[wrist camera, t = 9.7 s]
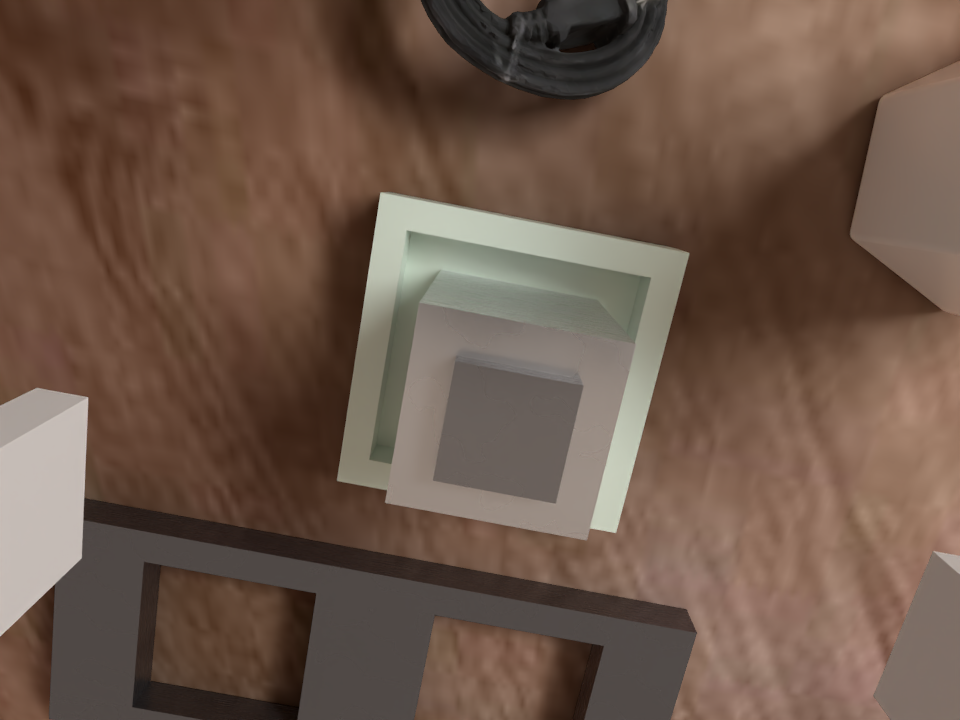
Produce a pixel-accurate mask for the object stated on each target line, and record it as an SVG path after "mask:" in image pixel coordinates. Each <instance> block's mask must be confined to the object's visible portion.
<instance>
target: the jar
mask: <svg viewBox="0 0 960 720" xmlns="http://www.w3.org/2000/svg"><path fill="white" fill-rule="evenodd" d="M850 237H851V239H852V240H854V241H855V242H856V243H857V244H859V245H860V246H861V247H863V248H864V249H865V250H866V251H868V252H869V253H870V254H872V255H873V256H874V257H875V258H877V259H878V260H879V261H880V262H882V263H883V264H884V265H886V266H887V267H888V268H889V269H891V270H892V271H893V272H895V273H896V274H897V275H898V276H900V277H901V278H902V279H903V280H905V281H906V282H907V283H909V284H910V285H911V286H912V287H914V288H915V289H916V290H917V291H919V292H920V293H921V294H923V295H924V296H925V297H926V298H928V299H929V300H930V301H931V302H933V303H934V304H935V305H936V306H938V307H939V308H940V309H942V310H943V311H945V312H947V313H951V314H954V315H958V316H960V61H958V62H955V63H953V64H951V65H949V66H947V67H944V68H942V69H940V70H938V71H935V72H933V73H931V74H929V75H927V76H924V77H922V78H920V79H918V80H916V81H913V82H911V83H909V84H907V85H905V86H902V87H900V88H898V89H896V90H894V91H891V92H889V93H887V94H885V95H884V96H882V97H881V98H880V101H879V103H878V107H877V112H876V116H875V121H874V125H873V130H872V134H871V139H870V143H869V148H868V152H867V157H866V162H865V166H864V171H863V175H862V180H861V184H860V189H859V193H858V198H857V202H856V207H855V211H854V216H853V220H852V225H851V229H850Z"/></svg>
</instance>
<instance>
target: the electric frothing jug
mask: <svg viewBox="0 0 960 720" xmlns="http://www.w3.org/2000/svg"><path fill="white" fill-rule="evenodd" d="M667 1H668V0H541V1H540V2H539V4H538V6H537V8H536V10H533V11H529V12H518V11H517V12H514V13H512V14H511V15H510V16H509V17H507V18H506V19H502V18H500V17H498V16H497V15H495V14H494V13H492V12H491V11H490V10H489V9H488V8H487V7H486V6H485V5H484V4H483V3H482V2H481V1H480V0H421V2H422V4H423V7H424V9H425V11H426V13H427V15H428V17H429V19H430V20H431V22H432V23H433V25H434V27H435V28H436V30H437V31H438V33H439V34H440V35H441V37H442V38H443V39H444V40H445V42H446V43H447V44H448V45H449V46H450V47H451V48H452V49H454V50H455V51H456V52H457V53H458V54H459V55H460V56H462V57H463V58H464V59H465V60H467V61H468V62H469V63H471V64H472V65H474V66H475V67H477V68H478V69H480V70H482V71H483V72H485V73H486V74H488V75H490V76H491V77H493V78H494V79H496V80H498V81H501V82H503V83H505V84H507V85H510V86H512V87H514V88H517V89H519V90H522V91H525V92H528V93H532V94H535V95H538V96H541V97H548V98H556V99H569V100H574V99H585V98H589V97H592V96H596V95H599V94H601V93H604V92H607V91H609V90H612V89H614V88H615V87H617V86H618V85H620V84H622V83H623V82H625V81H626V80H628V79H629V78H630V77H631V76H632V75H634V74H635V73H636V72H637V71H638V70H639V69H640V68H641V67H642V66H643V65H644V64H645V63H646V61H647V60H648V59H649V58H650V56H651V55H652V53H653V51H654V49H655V47H656V46H657V44H658V42H659V40H660V38H661V35H662V32H663V29H664V25H665V16H666V11H667ZM590 43H594V45H595V47H596V48H597V49H595V50H591V51H586V52H578V53H563V52H560V51H559V49H560V50H563V49H569V48H574V47H578V46H584V45H588V44H590Z"/></svg>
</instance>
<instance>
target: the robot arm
mask: <svg viewBox="0 0 960 720" xmlns="http://www.w3.org/2000/svg"><path fill="white" fill-rule="evenodd" d="M87 416H88V397H84V396H78V395H73V394H67V393H62V392H56V391H51V390H45V389H40V388H36V389H34V390H32V391H29V392H27V393H25V394H23V395H21V396H19V397H17V398H15V399H13V400H11V401H9V402H7V403H5V404H3V405H1V406H0V636H1V635H2V634H3V633H4V632H5V631H6V630H7V629H9V628H10V627H11V626H12V625H13V624H14V623H15V622H16V621H17V620H18V619H19V618H20V617H21V616H22V615H23V614H24V613H25V612H26V611H27V610H28V609H29V608H30V607H31V606H32V605H34V604H35V603H36V602H37V601H38V600H39V599H40V598H41V597H42V596H43V595H44V594H45V593H46V592H47V591H48V590H49V589H50V588H51V587H52V586H53V585H54V584H55V583H56V582H58V581H59V580H60V579H61V578H62V577H63V576H64V575H65V574H66V573H67V572H68V571H69V570H70V569H71V568H72V567H73V566H74V565H75V564H76V563H77V562H78V561H79V560H80V559H82V538H83V514H84V490H85V465H86V441H87ZM874 698H875V699H876V700H877V702H878V703H879V704H880V706H881V707H882V709H883V710H884V711H885V713H886V714H887V716H888V717H889V718H890V720H960V556H957V555H952V554H946V553H941V552H935V551H933V552H932V555H931V557H930V559H929V562H928V564H927V567H926V569H925V572H924V574H923V576H922V579H921V581H920V584H919V586H918V589H917V591H916V593H915V596H914V598H913V601H912V603H911V606H910V608H909V610H908V613H907V615H906V618H905V620H904V623H903V625H902V628H901V630H900V632H899V635H898V637H897V640H896V642H895V645H894V647H893V649H892V652H891V654H890V657H889V659H888V662H887V664H886V666H885V669H884V671H883V674H882V676H881V679H880V681H879V683H878V686H877V688H876V691H875V693H874Z"/></svg>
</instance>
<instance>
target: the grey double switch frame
mask: <svg viewBox="0 0 960 720" xmlns="http://www.w3.org/2000/svg"><path fill="white" fill-rule="evenodd" d="M161 565H164V566H169V567H175V568H180V569H186V570H191V571H197V572H202V573H208V574H213V575H219V576H224V577H230V578H235V579H241V580H246V581H251V582H257V583H262V584H268V585H273V586H279V587H284V588H290V589H295V590H301V591H306V592H312V593H316V600H315V606H314V613H313V620H312V626H311V633H310V639H309V646H308V653H307V659H306V666H305V673H304V679H303V686H302V693H301V699H300V706H299V708H298V707H292V706H286V705H281V704H275V703H270V702H264V701H259V700H253V699H247V698H242V697H236V696H231V695H225V694H219V693H214V692H208V691H203V690H197V689H192V688H186V687H180V686H175V685H169V684H164V683H158V682H152V681H151V669H152V658H153V646H154V635H155V624H156V612H157V601H158V589H159V578H160V566H161ZM435 615H437V616H443V617H448V618H454V619H459V620H465V621H470V622H476V623H481V624H487V625H492V626H498V627H503V628H509V629H514V630H519V631H525V632H530V633H536V634H541V635H547V636H552V637H558V638H563V639H569V640H574V641H580V642H585V643H591V644H593V645H592V649H591V653H590V656H589V660H588V664H587V668H586V671H585V675H584V679H583V683H582V687H581V690H580V694H579V698H578V702H577V705H576V709H575V713H574V717H573V720H670V719H671V716H672V713H673V709H674V706H675V703H676V700H677V696H678V693H679V690H680V687H681V683H682V680H683V677H684V673H685V670H686V667H687V664H688V660H689V657H690V654H691V651H692V647H693V644H694V641H695V637H696V634H697V632H696V630H695V628H694V625H693V623H692V621H691V619H690V616H689V614H688V612H687V610H686V609H681V608H676V607H670V606H665V605H659V604H654V603H649V602H643V601H638V600H632V599H627V598H622V597H616V596H611V595H605V594H600V593H594V592H589V591H584V590H578V589H573V588H567V587H562V586H556V585H551V584H546V583H540V582H535V581H529V580H524V579H519V578H513V577H508V576H502V575H497V574H491V573H486V572H481V571H475V570H470V569H464V568H459V567H454V566H448V565H443V564H437V563H432V562H426V561H421V560H416V559H410V558H405V557H399V556H394V555H388V554H383V553H378V552H372V551H367V550H361V549H356V548H351V547H345V546H340V545H334V544H329V543H323V542H318V541H313V540H307V539H302V538H296V537H291V536H286V535H280V534H275V533H269V532H264V531H258V530H253V529H248V528H242V527H237V526H231V525H226V524H220V523H215V522H210V521H204V520H199V519H193V518H188V517H183V516H177V515H172V514H166V513H161V512H155V511H150V510H145V509H139V508H134V507H128V506H123V505H118V504H112V503H107V502H101V501H96V500H90V499H85V498H84V514H83V538H82V559H80V560H79V561H78V562H77V563H76V564H75V565H74V566H73V567H72V568H71V569H70V570H69V571H68V572H67V573H66V574H65V575H64V576H63V577H62V578H61V579H60V580H59V581H58V582H56V583H55V598H54V620H53V641H52V663H51V684H50V706H49V719H52V720H414V717H415V712H416V707H417V702H418V697H419V692H420V687H421V682H422V677H423V672H424V667H425V662H426V657H427V652H428V647H429V642H430V637H431V631H432V626H433V621H434V616H435Z"/></svg>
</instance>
